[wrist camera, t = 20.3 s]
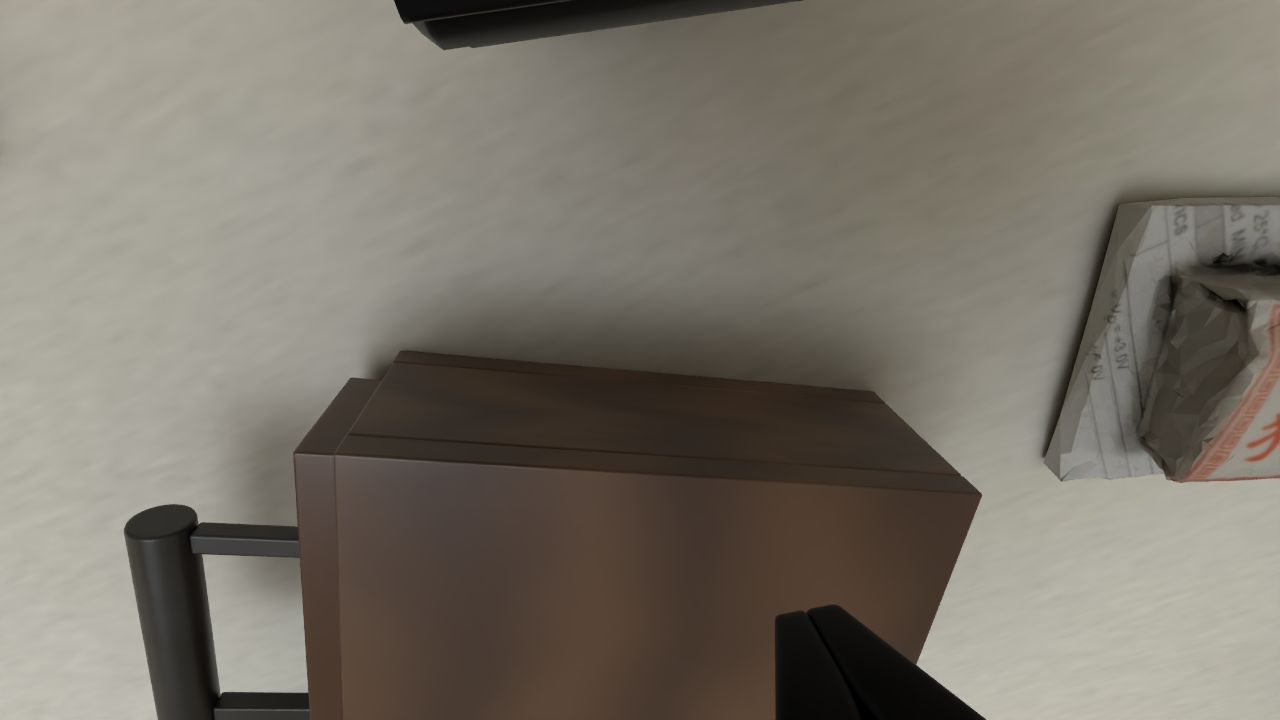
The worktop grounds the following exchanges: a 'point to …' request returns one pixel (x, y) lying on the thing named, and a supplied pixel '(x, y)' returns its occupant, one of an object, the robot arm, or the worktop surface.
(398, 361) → the cabinet
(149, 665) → the drawer
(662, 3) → the robot arm
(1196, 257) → the packaged product
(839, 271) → the worktop surface
